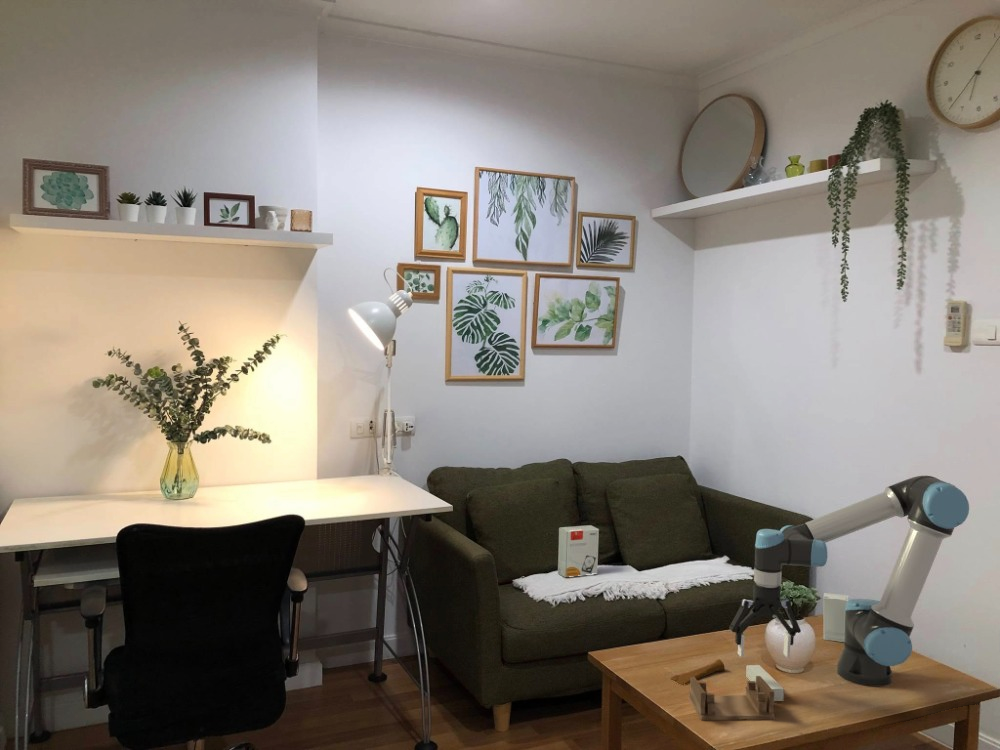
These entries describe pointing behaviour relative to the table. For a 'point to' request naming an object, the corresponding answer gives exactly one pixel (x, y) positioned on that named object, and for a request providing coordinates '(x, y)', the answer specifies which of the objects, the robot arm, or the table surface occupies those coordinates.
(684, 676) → the primitive tool
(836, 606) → the skincare box
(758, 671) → the strip
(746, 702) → the rack
